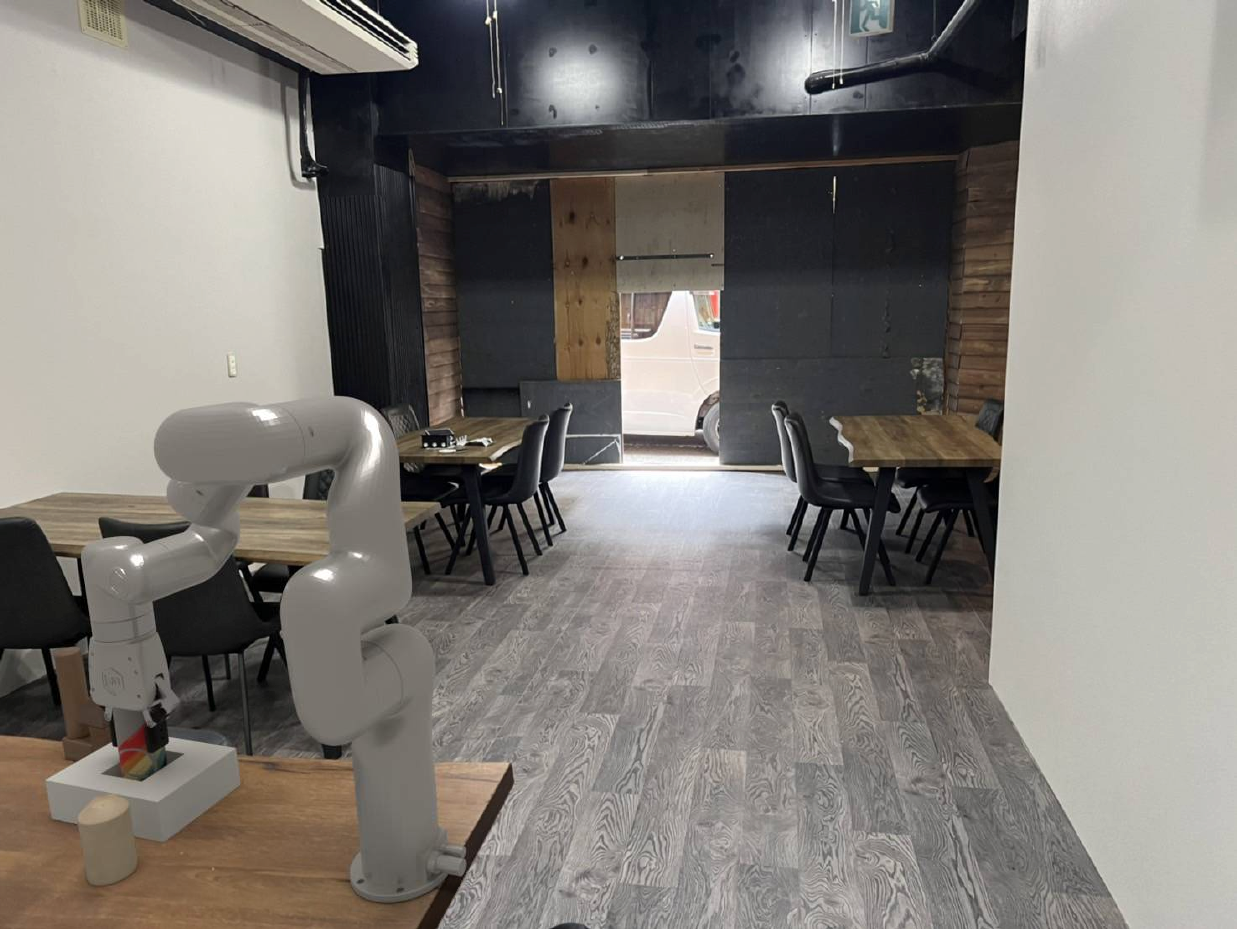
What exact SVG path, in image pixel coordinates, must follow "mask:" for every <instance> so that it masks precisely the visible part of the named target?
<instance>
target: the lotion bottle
mask: <svg viewBox="0 0 1237 929" xmlns="http://www.w3.org/2000/svg"><path fill="white" fill-rule="evenodd" d="M155 699H156V697H154V700H155ZM112 709H113V716H114V723H115V730H116V737H117V745H118V752H119V759H120V766H121V773H122V778H125V779H130V780H136V781H141V782H142V781H144V780H145V779H147V778H148V777H150V776H151V775H153V774H154V773H156V772H158V771H159V770H161V769H162V768H164V767H165V766H167V757H166V749H165V746H164V747H162V748H160V749H159V750H157V751H156V752H154V753H148V751H147V746H146V739H145V732H144V728H145V727H146V726H148V725H147V723H146V721H145V718H144V716H143V713H142V711H132V710H126V709H121V708H112ZM151 710H152V713H153V715H154V714H155V713H156V711H157V708H156V705H155V706H153V707H151Z"/></svg>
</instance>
